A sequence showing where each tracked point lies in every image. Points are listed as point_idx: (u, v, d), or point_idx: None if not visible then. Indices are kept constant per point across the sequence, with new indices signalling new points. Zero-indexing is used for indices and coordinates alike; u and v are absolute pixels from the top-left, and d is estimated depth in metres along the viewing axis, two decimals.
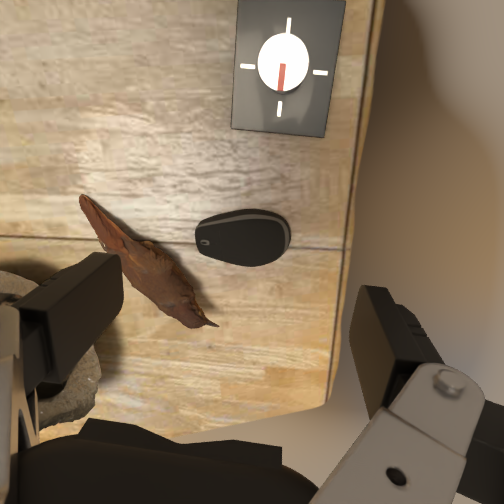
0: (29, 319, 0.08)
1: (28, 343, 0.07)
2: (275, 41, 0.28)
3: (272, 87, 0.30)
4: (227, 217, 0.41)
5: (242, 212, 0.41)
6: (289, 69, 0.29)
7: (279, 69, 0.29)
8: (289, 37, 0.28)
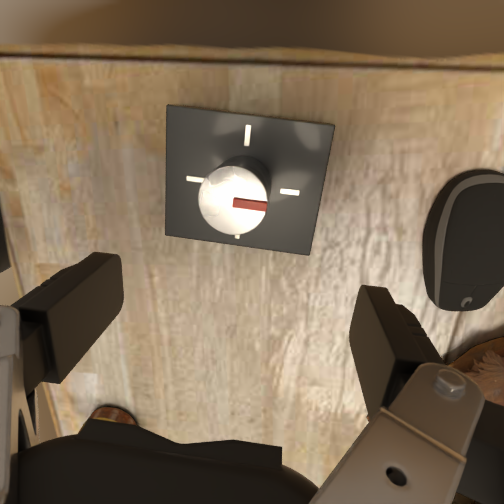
0: (29, 319, 0.08)
1: (28, 343, 0.07)
2: (207, 211, 0.21)
3: (262, 216, 0.21)
4: (432, 266, 0.28)
5: (428, 244, 0.28)
6: (240, 193, 0.21)
7: (239, 207, 0.21)
8: (202, 193, 0.21)
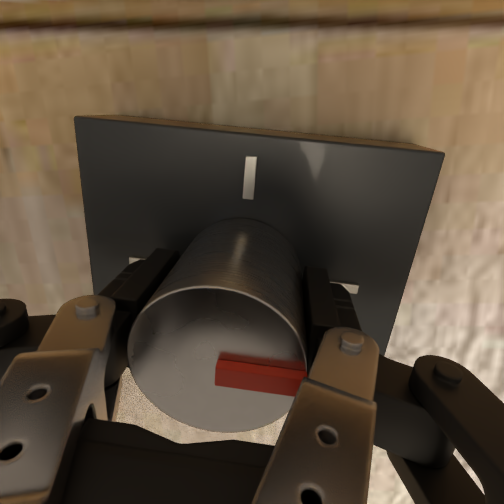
0: (118, 308, 0.09)
1: (121, 330, 0.08)
2: (154, 385, 0.08)
3: (292, 401, 0.08)
4: None
5: None
6: (234, 350, 0.08)
7: (233, 388, 0.08)
8: (137, 346, 0.08)
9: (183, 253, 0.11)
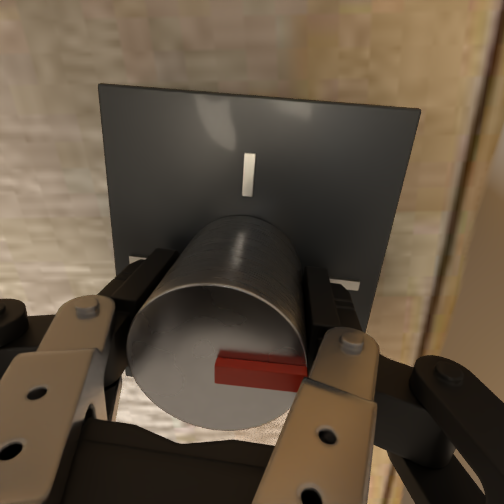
0: (118, 308, 0.09)
1: (121, 329, 0.08)
2: (155, 384, 0.08)
3: (294, 397, 0.08)
4: None
5: None
6: (233, 348, 0.08)
7: (234, 384, 0.08)
8: (136, 347, 0.08)
9: None
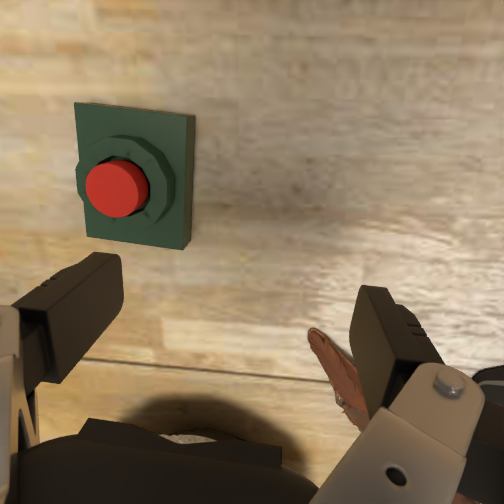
0: (29, 319, 0.08)
1: (28, 343, 0.07)
2: None
3: None
4: None
5: None
6: None
7: None
8: None
9: None
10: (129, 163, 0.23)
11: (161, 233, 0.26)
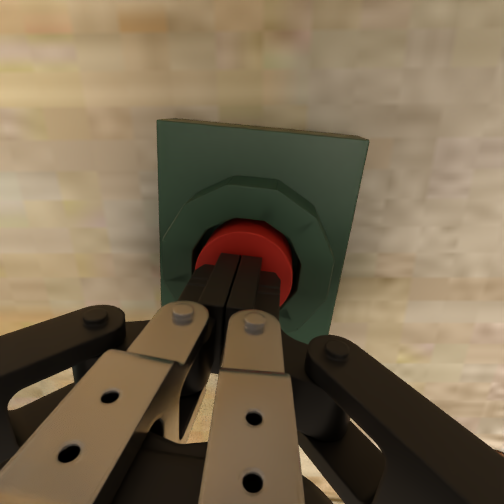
0: None
1: (211, 335, 0.08)
2: None
3: None
4: None
5: None
6: None
7: None
8: None
9: None
10: (267, 224, 0.13)
11: None
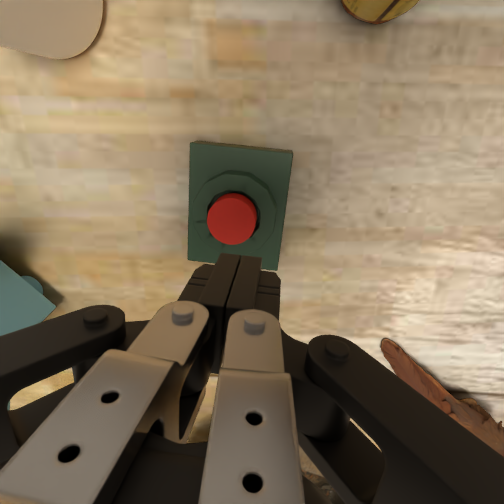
0: None
1: (211, 335, 0.08)
2: None
3: None
4: None
5: None
6: None
7: None
8: None
9: None
10: (243, 196, 0.26)
11: (258, 255, 0.29)
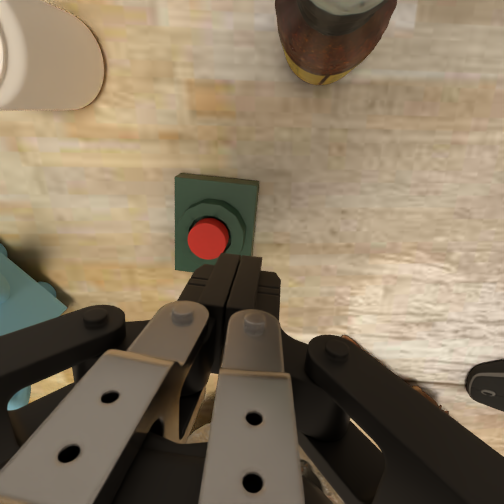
0: None
1: (211, 336, 0.08)
2: None
3: None
4: None
5: None
6: None
7: None
8: None
9: None
10: (217, 220, 0.32)
11: None
